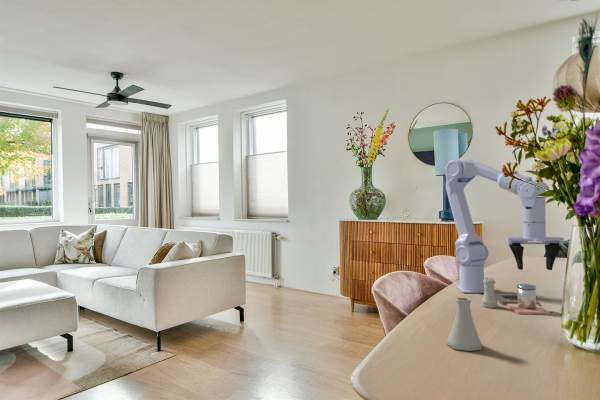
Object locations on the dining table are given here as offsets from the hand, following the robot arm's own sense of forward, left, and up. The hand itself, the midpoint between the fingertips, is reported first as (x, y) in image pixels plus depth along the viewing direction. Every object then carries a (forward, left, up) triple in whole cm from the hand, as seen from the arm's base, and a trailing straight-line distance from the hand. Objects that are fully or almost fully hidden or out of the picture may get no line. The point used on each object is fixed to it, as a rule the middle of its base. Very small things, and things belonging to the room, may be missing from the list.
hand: (534, 269), depth 113 cm
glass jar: (+6, -4, -10) cm, 12 cm away
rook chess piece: (+3, -13, -10) cm, 17 cm away
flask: (+35, -27, -10) cm, 46 cm away
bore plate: (-4, -4, -10) cm, 12 cm away
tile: (+6, -4, -10) cm, 13 cm away
